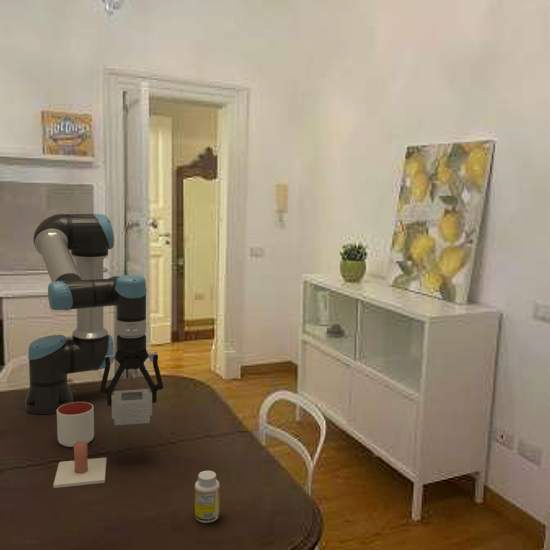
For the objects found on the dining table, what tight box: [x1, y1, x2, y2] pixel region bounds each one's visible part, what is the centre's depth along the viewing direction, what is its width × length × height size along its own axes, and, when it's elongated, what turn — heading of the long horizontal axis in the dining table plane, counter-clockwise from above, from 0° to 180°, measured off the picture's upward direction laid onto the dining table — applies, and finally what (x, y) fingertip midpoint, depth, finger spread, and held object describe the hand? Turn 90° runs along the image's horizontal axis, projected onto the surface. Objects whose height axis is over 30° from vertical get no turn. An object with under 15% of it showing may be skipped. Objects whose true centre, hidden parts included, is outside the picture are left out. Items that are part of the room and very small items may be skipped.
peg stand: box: [53, 441, 107, 489], centre depth 141 cm, size 12×12×8 cm
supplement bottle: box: [194, 470, 221, 524], centre depth 124 cm, size 6×6×10 cm
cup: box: [56, 401, 95, 448], centre depth 159 cm, size 10×10×10 cm
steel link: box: [113, 388, 151, 426], centre depth 148 cm, size 9×9×6 cm
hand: (132, 415), depth 148 cm, fingers closed on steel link, 9 cm apart
